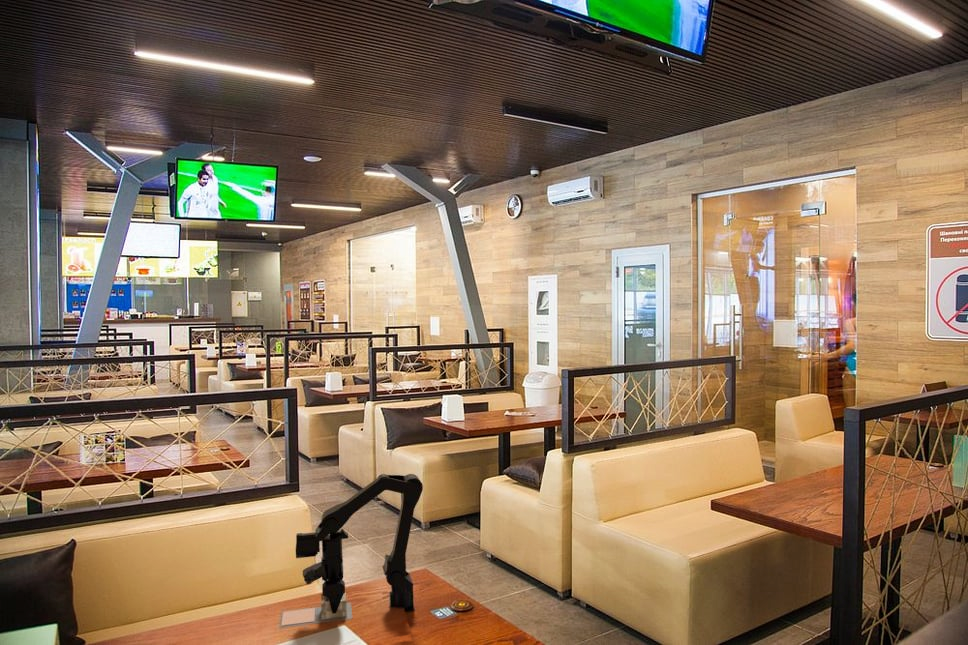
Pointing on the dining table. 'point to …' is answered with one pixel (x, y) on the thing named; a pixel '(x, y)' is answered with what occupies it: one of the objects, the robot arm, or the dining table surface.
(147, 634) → the dining table surface
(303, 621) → the stand board
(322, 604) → the beige square hollow block
